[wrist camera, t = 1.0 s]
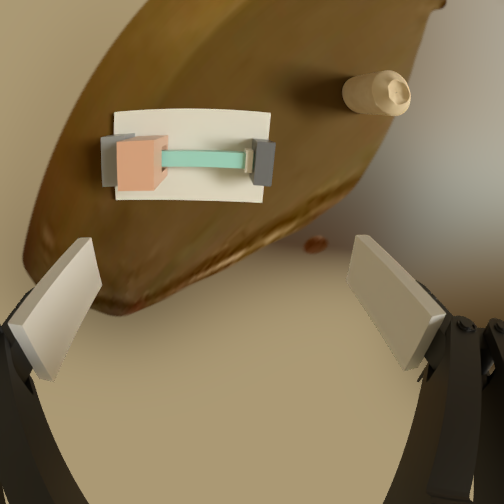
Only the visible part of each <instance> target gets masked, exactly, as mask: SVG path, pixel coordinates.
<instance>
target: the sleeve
mask: <svg viewBox="0 0 504 504" xmlns="http://www.w3.org/2000/svg"><path fill="white" fill-rule="evenodd" d="M162 150H168V135H153V136H136V137H133V138H129V139H125V140H122V141H118V142H117V181H118V191H154V190H155V189H156V188H157V187H158V185H159V184H160V183H161V182H162V181H163V180H164V179H165V177H166V176H167V175H168V167H162Z"/></svg>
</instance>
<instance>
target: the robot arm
mask: <svg viewBox="0 0 504 504" xmlns="http://www.w3.org/2000/svg"><path fill="white" fill-rule="evenodd" d="M346 282H347V284H348V285H349V287H350V288H351V290H352V291H353V293H354V294H355V296H356V297H357V299H358V300H359V302H360V303H361V305H362V306H363V308H364V309H365V311H366V312H367V314H368V315H369V317H370V318H371V320H372V321H373V323H374V325H375V326H376V328H377V329H378V331H379V332H380V334H381V335H382V337H383V339H384V340H385V342H386V343H387V345H388V347H389V348H390V350H391V351H392V353H393V355H394V356H395V358H396V360H397V361H398V363H399V365H400V366H401V368H402V370H403V371H407V370H411V369H414V368H417V367H418V366H419V364H420V363H421V361H422V359H423V358H424V357H425V358H426V360H427V361H428V363H427V365H426V367H425V368H424V370H423V372H422V373H421V375H420V376H419V378H418V380H417V382H419V381H420V380H421V378H423V380H422V385H421V390H420V394H419V399H418V404H417V407H416V411H415V415H414V419H413V423H412V426H411V430H410V434H409V437H408V440H407V443H406V446H405V449H404V452H403V455H402V458H401V461H400V464H399V466H398V469H397V471H396V474H395V477H394V479H393V482H392V484H391V487H390V489H389V491H388V493H387V496H386V498H385V500H384V502H383V504H504V321H502V320H500V319H495V318H492V319H490V320H489V323H488V324H487V326H486V328H477V326H476V325H475V324H474V323H473V322H472V321H471V320H470V319H468V318H466V317H463V316H453V315H452V314H451V313H450V312H449V311H448V310H447V309H446V308H445V307H444V306H443V304H442V303H441V302H440V301H439V300H437V299H436V297H435V296H434V295H433V294H431V292H430V291H429V290H428V289H427V288H426V287H425V286H424V285H423V284H421V283H420V282H418V281H417V280H415V279H413V277H411V275H410V274H409V273H408V272H406V271H405V269H403V267H402V266H400V264H399V263H397V262H396V261H395V260H394V259H393V258H392V257H391V256H390V255H389V254H388V253H387V252H386V251H385V250H384V249H383V248H382V247H381V246H380V245H379V244H377V242H375V241H374V240H373V239H372V238H371V237H370V236H369V235H356V236H355V241H354V246H353V251H352V256H351V261H350V265H349V269H348V274H347V278H346ZM101 286H102V283H101V279H100V275H99V271H98V267H97V262H96V258H95V253H94V249H93V244H92V238H91V237H90V238H78V239H77V240H76V241H75V242H74V243H73V244H72V245H71V246H70V248H69V249H68V250H67V251H66V252H65V253H64V254H63V255H62V256H61V257H60V258H59V259H58V261H57V262H56V263H55V264H54V265H53V266H52V267H51V269H50V270H49V271H48V272H47V273H46V274H45V276H44V277H43V278H42V279H41V280H40V281H39V283H38V284H37V285H36V286H35V287H34V288H32V289H31V290H30V291H28V292H27V293H26V294H25V295H24V297H23V298H22V299H21V300H20V302H19V303H18V304H17V306H16V308H15V309H14V310H13V311H12V312H11V313H10V315H9V316H8V318H7V319H6V321H5V322H4V323H3V325H2V326H1V325H0V504H6V503H5V498H4V493H3V489H4V492H5V495H6V497H7V500H8V502H9V504H89V503H88V502H87V500H86V499H85V497H84V495H83V494H82V492H81V490H80V489H79V487H78V485H77V483H76V482H75V480H74V478H73V476H72V474H71V473H70V471H69V469H68V467H67V465H66V463H65V461H64V459H63V457H62V455H61V453H60V451H59V449H58V446H57V444H56V442H55V440H54V437H53V435H52V433H51V430H50V428H49V425H48V423H47V420H46V418H45V415H44V412H43V410H42V407H41V404H40V401H39V398H38V395H37V392H36V389H35V385H34V382H33V380H32V378H31V376H30V373H31V371H32V369H34V371H35V373H36V374H37V376H38V377H39V379H43V380H47V381H52V382H54V381H55V378H56V376H57V373H58V372H59V369H60V367H61V365H62V362H63V360H64V358H65V356H66V354H67V352H68V349H69V347H70V345H71V343H72V341H73V339H74V337H75V335H76V333H77V331H78V329H79V327H80V325H81V323H82V321H83V319H84V317H85V315H86V313H87V311H88V310H89V308H90V306H91V304H92V302H93V300H94V299H95V297H96V295H97V293H98V291H99V290H100V288H101ZM493 363H494V365H495V370H494V371H493V373H492V374H491V375H490V374H489V369H490V368H491V366H492V365H493ZM473 475H474V498H473V502H472V501H471V500H470V498H469V494H470V489H471V485H472V480H473Z"/></svg>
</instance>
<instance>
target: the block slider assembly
mask: <svg viewBox="0 0 504 504" xmlns="http://www.w3.org/2000/svg"><path fill="white" fill-rule="evenodd" d="M270 116H271V113H265V112H254V111H241V110H223V109H153V110H135V111H123V112H114V135H109V136H105V137H101V169H102V187H111V186H115V194H116V200H206V201H235V202H257V203H262V199H263V189H264V186H271V183H272V173H273V164H274V154H275V144H276V143H275V142H272V141H270V140H268V137H269V127H270ZM153 135H168V150H162V167H168V175H167V176H166V177H165V179H164V180H163V181H162V182H161V183H160V184H159V185H158V187H157V188H156V189H155V190H154V191H118V181H117V142H118V141H122V140H125V139H129V138H133V137H136V136H153Z"/></svg>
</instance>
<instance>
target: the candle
mask: <svg viewBox="0 0 504 504" xmlns="http://www.w3.org/2000/svg"><path fill="white" fill-rule="evenodd" d="M342 96H343V100H344V102H345V104H346V105H347V106H348V107H349V108H350V109H351V110H352V111H354V112H357V113H361V114H376V115H390V116H398V115H401V114H403V113H404V112H405V111H406V110H407V109H408V107H409V104H410V100H411V96H410V90H409V87H408V84H407V83H406V81H405V80H404V78H403V77H402V76H400V75H399V74H398V73H396V72H394V71H390V70H386V71H380V72H374V73H369V74H364V75H360V76H355V77H352V78H350V79H348V80H347V81H346V82H345V84H344V85H343V89H342Z"/></svg>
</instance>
